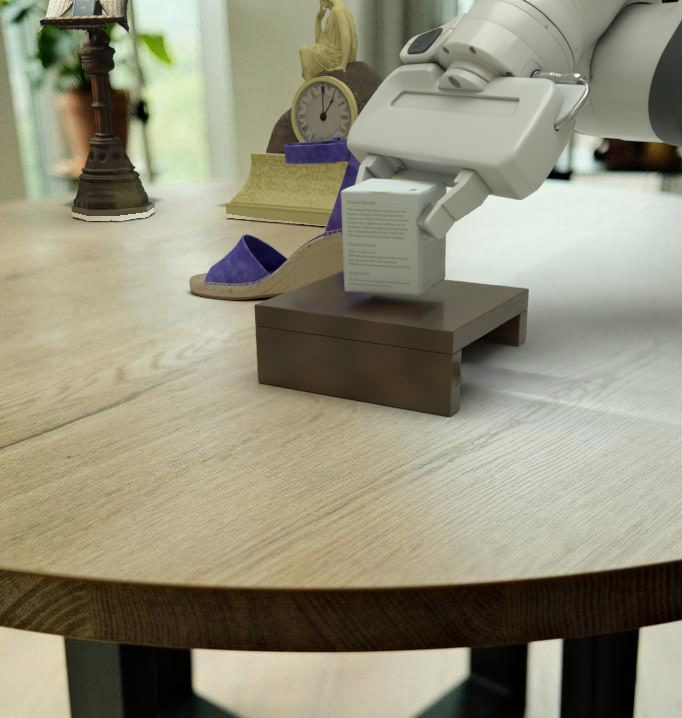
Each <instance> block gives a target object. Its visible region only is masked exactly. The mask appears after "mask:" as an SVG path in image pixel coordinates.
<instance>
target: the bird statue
mask: <svg viewBox="0 0 682 718" xmlns="http://www.w3.org/2000/svg"><path fill="white" fill-rule="evenodd" d="M128 4H129V0H49V1H48V6H47V10H46V15H45V16H42V17H40V18H39V24H40V28H39V30H38V32H37V36H40V33H41V32H43V30H45V29H46V28H47V27H48V26H59V27H58V29H59V31H60V32H61V31H63V30H69V31H73V30H74V31H80V30H81V31H84V33H83V37H82V47H80V48H78V50H77V53H78V54H79V55H80V58H81V66H82V67H81V68H82V69H83V70H85V71H87V72H88V73H89V75H88V76H89V78H90V81H91V90H92V91H91V92H92V100H93V102H92V104H91V107H92V108H93V110H94V122H95V128H96V130H95V131H96V132H95V133H94V135H95V136H92V138H90V141H89V142H88V143H89V147H90V148H89V151H88V154H87V157H86V160H85V164H84V167H82V168H81V173H80V174H79V176H78V179H79V181H78V184H77V191H76V195H75V198H74V199H73V201H72V202H73V205H72V206H71V207H70V208H71V213H72V212H74V213H78V214H82V215H86V216H120V215H128V214H136V213H143V212H148V211H149V210H151V209H152V208H154V207H155V208H156V204H155V202H154V201H150V200H149V195H148V193H147V192H146V191H145V186H143V182H142V179H140V175H141V173H140V172H138V171H136V170H135V169H136V166H135V165H133V163H132V162H131V161H132V160H130V157H129V156H128V154H127V151H126V150H125V148H124V146H123V140H122V139H121V138H120V137H119V136H116V133H115V132H114V131H113V128H112V126H113V124H112V122H113V121H112V117H113V114H112V109H113V108H114V106H115V105H114V104H113V103H112V102H111V94H112V93H111V91H110V88H109V86H110V85H109V78H110V73H109V72H111V71H114V69H115V67H116V64H115V60H114V55H115V54H116V49H115V48H114V47H112V46H110V43H111V38H110V36H109V34H107V32H106V31H107V30H108V24H109V25H110V24H112V25H115V23H116V24H118V26H120V27H121V28H122V29H124V30H125V31H126V32H127V34H129V33H130V26H129V21H128V13H127V12H128ZM71 8H72V9H71ZM70 10H71V12H70V14H69V15H68V16H64V15H65V14H66V13H67V12H69V11H70ZM103 12H104V13H105V14H106V15H105V14H104V13H103Z"/></svg>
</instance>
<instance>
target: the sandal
mask: <svg viewBox="0 0 682 718" xmlns="http://www.w3.org/2000/svg"><path fill="white" fill-rule="evenodd" d="M325 141H327V142H325ZM284 153H285V162H286V164H335V163H336V162H348V165H347V168H346V171H345V175H344V178H343V181H342V184H341V187H340V190H339V193H338V196H337V198H336V201H335V204H334V207H333V210H332V213H331V216H330V219H329V221H328V224H327V227H325V230H324V232H323V233H322V234H318V235H317V236H315V237H313V238H312V239H310V240H308V241H307V242H305V244H303V245H302V246H300V247H299V248H298V249H296V250H295V251H294V252H293V253H292V254H291V255H290V256H289V257H286V256H284V255H283V254H282V253H281V252H280V251H278V250H277V249H276V248H274V247H273V246H272V245H270V244H269V243H267V242H266V241H264V240H262V239H260V238H258V237H256V236H254V235H251V234H248V233H246V234H242V236H241V237H240V239H239V240H238V242H237V243H236V245H235V246H234V247H233V248H232V249H231V250H230V251H229V252H228V253H227V254H225V255H224V256H223V257H222V258H221V259H220V260H219V261H218V262H216V263H214V264H213V265H212V266H211V267H210V268H209V270H208V271H207V272H204V273H199V274H195V275H192V276H191V277H190V278H189V281H188V282H189V283H188V284H189V288H190V293H192V295H195V296H199V297H205V298H209V299H216V300H217V299H218V300H231V301H240V300H241V301H243V300H245V301H246V300H255V299H262V298H274V297H276V296H279V295H282V294H284V293H287V292H290V291H292V290H295V289H298V288H300V287H303V286H306V285H308V284H311V283H313V282H316V281H319V280H321V279H324V278H327V277H329V276H332V275H335V274H337V273H340V272H343V271H344V269H343V243H342V210H341V191H342V190H344V189H346V188H348V187H351V186H354V185H355V183H356V179H357V175H358V171H359V167H360V165H361V163H360V162H359V161H358V160H357V159H356V158H355V156H354V155H353V154H352V153H351V152H350V150H349V149H348V147H347V139H343V140H341V138H340V137H331V138H313V139H312V140H311V142H300V143H290V144H285V145H284Z"/></svg>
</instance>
